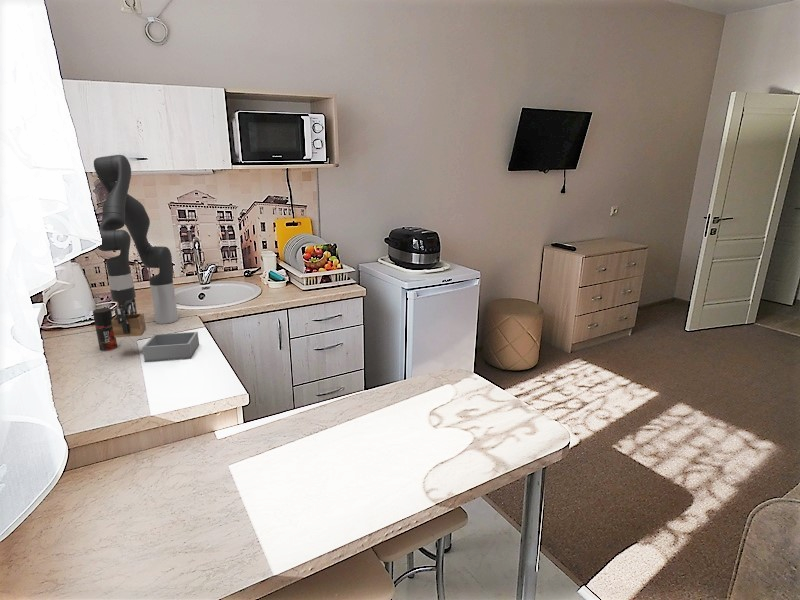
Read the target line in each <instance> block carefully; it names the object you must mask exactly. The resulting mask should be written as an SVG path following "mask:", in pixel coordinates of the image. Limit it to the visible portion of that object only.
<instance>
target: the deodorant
mask: <svg viewBox="0 0 800 600" xmlns="http://www.w3.org/2000/svg"><path fill="white" fill-rule="evenodd" d="M92 315H93V320H94V321H93V322H94V327H95V331H96V336H97V337H96V338H97V342H98V347H99V350H100V351H102V352H103V351H104V352H107V351H108V352H109V351H112V350H115V349H117V348H118V343H117V337H116V338H115V337H114V332H113V327H112V322H111V320H112V319H114V317H113V314H112V309H111V308H110V307H102V308H98V309H97V308H96V309H94V310H93V311H92Z"/></svg>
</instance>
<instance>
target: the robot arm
mask: <svg viewBox="0 0 800 600" xmlns="http://www.w3.org/2000/svg"><path fill="white" fill-rule="evenodd" d="M93 168H94V171H95V173H96V176H97V177H98V179H99V181H100V182H101V184H102V185H103V187H104V189H105V191H106V192H107V193H108V194H107V196H106V198H105V200H104V202H103V204H102V210H101V211H102V212H101V213H102V214H101V215H102V216H101V222H100V225H99V227H98V229H99V230H100V234H101V238H102V245H101V246H99V247H97V249H99V250H100V251H102V252H115V251H119V252H120V253H119V254H118V255H116V256H112V257H109V258H107V259H106V261H105V262H106V263H105V265H106V269H107V277H108V285H109V290H110V295H111V300H112V301H113V302H117V308H115V309H114V313H115V317H117V321H118V324H119V325H120V324H121V325H122V329H123V333H124V334H130V327H129V320H128V319H129V318H130V314H132V315H133V314H138V312H137V304H136V290H135V284H134V278H133V275H132V272H131V267H130V260H129V259H130V257H129V256H130V247H131V238H132V240H133V243H134V245H135V248H136V250H137V253H138V256H139V258H140V261H141V262H142V264H143V265H144V267H147V268H148V269H159V270H158V271H159V273H158V274H156V275H153V276H150V277H149V279H148V280H149V287H150V294H151V301H152V308H153V312H154V322H155V323H156V324H159V325H160V324H161V325H167V324H172V323H175V322H177V321H179V315H178V308H177V307H178V305H177V300H176V293H175V292H176V291H175V285H174V271H173V258H172V253H171V250H170V248H168V246H163V245H162V246H158V245H157V246H152V245H151V244H150V243H149V240H148V232H149V229H150V224H151V221H150V220H151V219H150V217H149V214H148V212H147V211H146V209H145V207H144V205H143V204H142V203H141V202H140V201H139V200H138V199H136V198H135V197H133V196H132V195H131V194H129V193H128V192H129V189H130V183H131V178H132V167H131V164H130V161H129V160H128V158H127V157H126V156H125V155H124V154H114V155H113V154H112V155H106V156H99V157H96V158H94V160H93ZM123 227H126V229H127V230H128V231H126V230H124V229H122V228H123ZM123 320H124V321H123Z"/></svg>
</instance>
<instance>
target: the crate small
mask: <svg viewBox="0 0 800 600" xmlns="http://www.w3.org/2000/svg"><path fill="white" fill-rule="evenodd" d="M128 320H129V327H130V334H124V333H123V329H122V325H121V324H120V325H119V324H118V321H117V317H116V316H115V317H113V319H112V320H111V322H112V327H113V332H114V337H115V338H116V339H117V338H128V337H129V338H130V337H139V336H143V334H144V333H145V332H146V331H147V327H146V322H145V321H146V319H145V315H144V313H137V314H133V315H132V314H130V318H129V319H128ZM123 321H124V320H123Z"/></svg>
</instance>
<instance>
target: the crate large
mask: <svg viewBox="0 0 800 600" xmlns="http://www.w3.org/2000/svg"><path fill="white" fill-rule="evenodd" d="M199 347H200V339H199V332H198V331H188V332H187V331H186V332H174V333H158V334H153V335H152V337H150V338H149V340H147V342H146V343H144V345H143V346H142V353H143V358H144V363H151V362H160V361H161V362H163V361H164V362H165V361H177V360H189V359H190V360H191V359H192V358H193V357H194V355H195V353H196V351H197V350H198V348H199Z"/></svg>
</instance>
